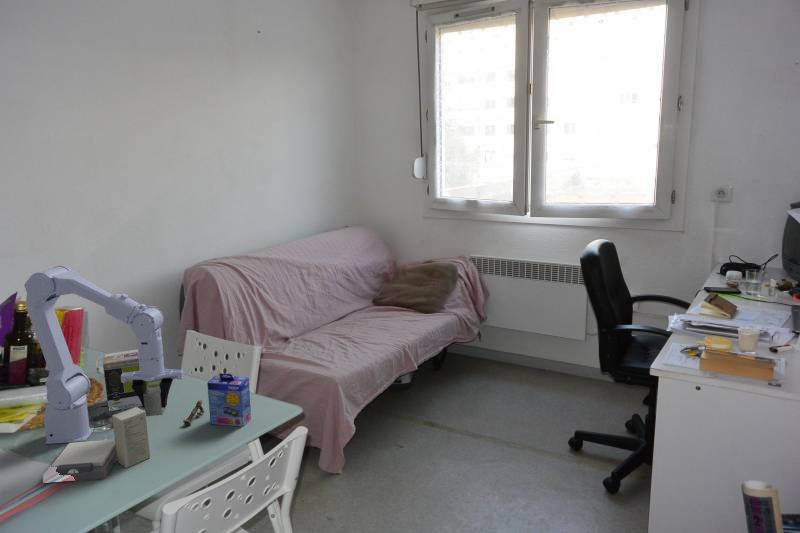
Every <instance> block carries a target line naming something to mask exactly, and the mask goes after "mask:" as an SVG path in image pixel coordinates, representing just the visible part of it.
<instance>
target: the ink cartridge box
mask: <svg viewBox="0 0 800 533" xmlns="http://www.w3.org/2000/svg"><path fill="white" fill-rule="evenodd" d="M206 385H207V395H208V409H209V410H208V411H209V423H210V425H218V426H230V427H231V426H233V427H245V426H246V425H247V424H248V423H249V421H251V419H252V408H251V407H252V406H251V395H250V394H251V392H250V379H249V377H245V376H233V374H232V373H218V375H214V376H213V377H212V378H211V379H209V380H208V381H207V384H206Z"/></svg>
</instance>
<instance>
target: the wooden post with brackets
mask: <svg viewBox="0 0 800 533" xmlns="http://www.w3.org/2000/svg"><path fill="white" fill-rule="evenodd" d="M202 404H203V399H202V400H201V399H199V400H198V401H197V402H196V404H195V407H194V408H193V409H192V410H191V412H190V414H189V416H188V417H187V418H186V419H184V420H182V422H183V423H184V425H186V426H192V421H193V418H194V416H195V419H196V420H197V419H199V418H200V417H202V416H203V415H202V414H205V409H204V408H203V406H202ZM198 410H199V411H198Z"/></svg>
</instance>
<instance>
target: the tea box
mask: <svg viewBox="0 0 800 533" xmlns="http://www.w3.org/2000/svg"><path fill="white" fill-rule="evenodd" d="M102 361H103V362H102V370H103V375H104V385H105V393H106V402H107V408H108V407H118V408H120V409H121V410H120V411H122V410H125V409H126V410H129V409H131V408H134V407H138V408H140V407H143V406H142V403H141V401H140V399H139V397H138V395H137V394H136V392H135V391H134V390H133V389H132V383H133V381H130V382H126V383H121V375H122V374H123V373H128V372H135V371H140V369H139V358H138V348H135V349H129V350H122V351H115V352H114V351H113V352H109V353H104V354H103V360H102ZM161 381H162V380H153V381H147V388H150V387H160V386H159V384H160V382H161Z"/></svg>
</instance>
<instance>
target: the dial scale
mask: <svg viewBox="0 0 800 533" xmlns="http://www.w3.org/2000/svg"><path fill="white" fill-rule="evenodd" d="M116 462H117V452H116V444H115V438H114V439H103V440H90V441H87V440H86V441H82V442H68V444H66V445H65V446H64V447H63V449H62V450H61V451H60V452H59V454H58V455H57V456H56V457H55V458H54V460H53V461H52V462H51V464H50V465H51V467H54V466H55V467H57V469H56V472H58V473H60V474H59V475H63V476H64V475H71V476H73V477H74V479H75V480H76V481H75V482H85V481H97V480H105V479H106V478H107V477H108V474H109V473H110V472H111V469H112V468H113V467H114V465H115V463H116Z"/></svg>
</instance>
